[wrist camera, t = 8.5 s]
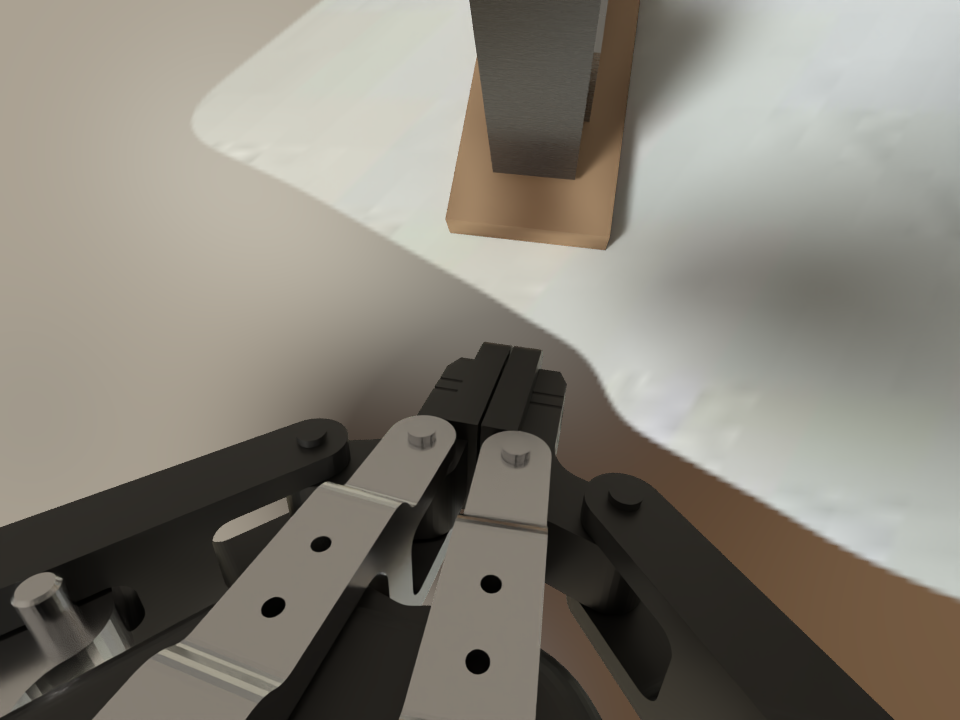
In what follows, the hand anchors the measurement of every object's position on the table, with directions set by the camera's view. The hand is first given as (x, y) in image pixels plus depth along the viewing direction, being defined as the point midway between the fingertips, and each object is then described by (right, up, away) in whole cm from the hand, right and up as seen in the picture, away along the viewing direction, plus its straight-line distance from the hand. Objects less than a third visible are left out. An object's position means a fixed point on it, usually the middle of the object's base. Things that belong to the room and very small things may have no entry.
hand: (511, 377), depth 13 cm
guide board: (+3, +16, +15) cm, 22 cm away
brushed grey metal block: (+3, +17, +13) cm, 22 cm away
